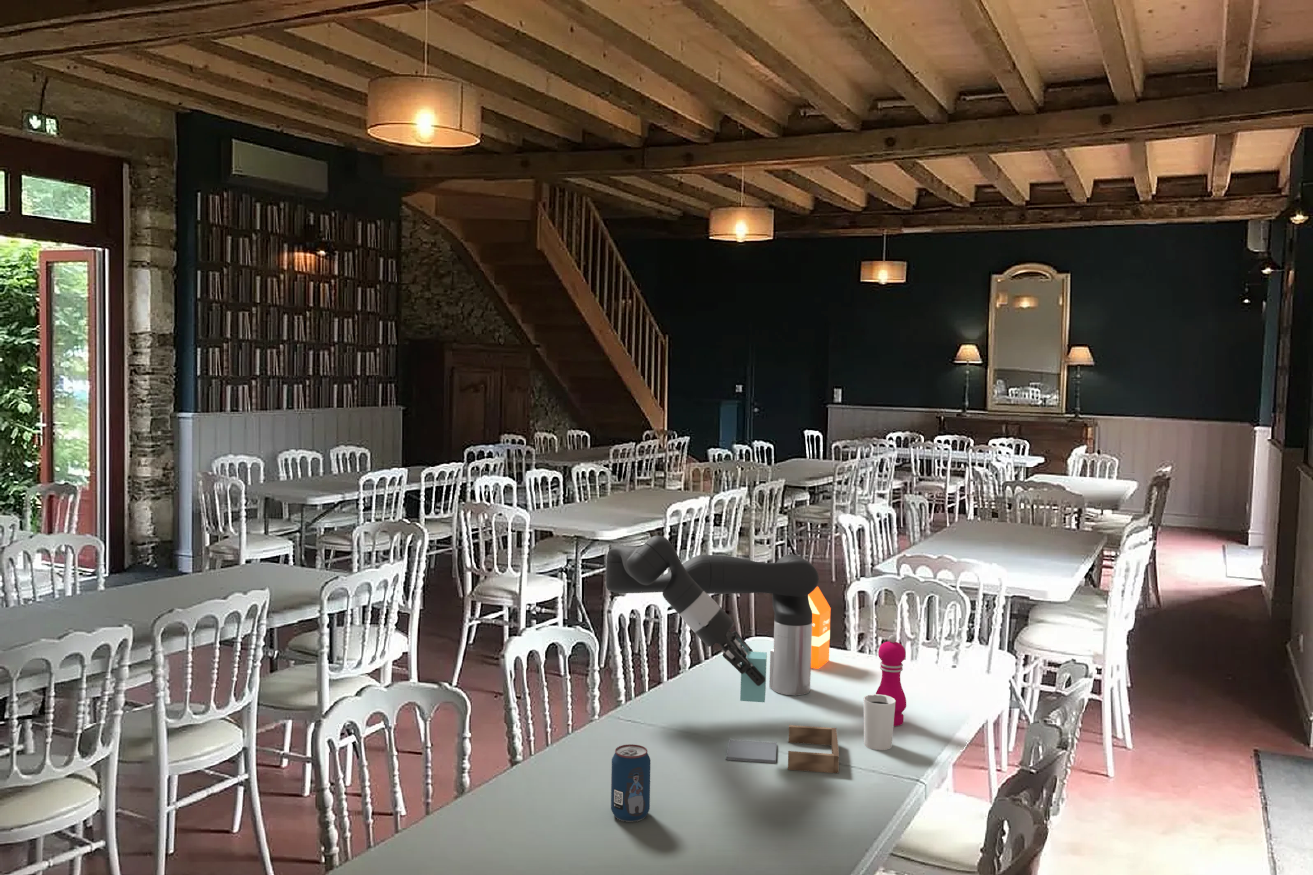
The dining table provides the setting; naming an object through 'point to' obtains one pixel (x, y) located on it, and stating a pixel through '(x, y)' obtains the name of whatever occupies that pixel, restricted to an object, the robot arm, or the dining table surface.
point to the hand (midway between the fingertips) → (762, 678)
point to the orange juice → (819, 628)
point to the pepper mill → (892, 675)
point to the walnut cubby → (809, 759)
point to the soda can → (630, 783)
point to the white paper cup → (878, 721)
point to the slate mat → (751, 751)
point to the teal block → (747, 685)
